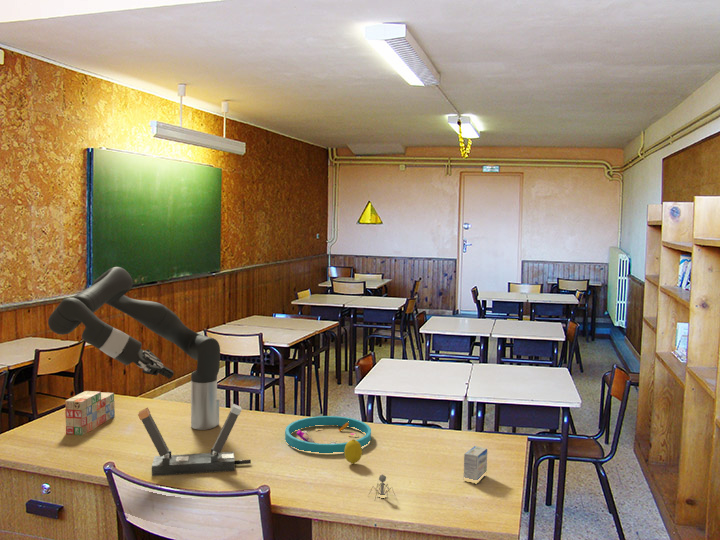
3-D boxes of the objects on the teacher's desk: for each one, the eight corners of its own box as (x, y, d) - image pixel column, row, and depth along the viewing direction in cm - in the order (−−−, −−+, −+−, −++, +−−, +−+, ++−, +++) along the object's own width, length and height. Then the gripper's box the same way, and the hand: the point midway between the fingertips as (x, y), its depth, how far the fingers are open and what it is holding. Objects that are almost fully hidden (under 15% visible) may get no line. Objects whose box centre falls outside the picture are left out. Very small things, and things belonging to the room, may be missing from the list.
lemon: (363, 462, 200) (364, 437, 199) (358, 468, 195) (358, 443, 194) (347, 459, 202) (348, 435, 201) (341, 466, 196) (342, 441, 196)
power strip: (151, 476, 186) (151, 460, 185) (154, 465, 193) (154, 450, 193) (251, 469, 192) (251, 454, 192) (250, 459, 200) (250, 445, 199)
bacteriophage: (363, 499, 174) (364, 476, 173) (379, 489, 180) (379, 466, 180) (385, 506, 170) (385, 482, 169) (400, 496, 177) (400, 472, 176)
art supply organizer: (267, 439, 219) (267, 423, 219) (329, 420, 241) (329, 405, 241) (327, 464, 199) (327, 445, 198) (388, 440, 221) (389, 424, 220)
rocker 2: (209, 457, 191) (233, 407, 191) (209, 452, 195) (233, 403, 195) (217, 460, 191) (241, 410, 192) (217, 455, 196) (241, 406, 196)
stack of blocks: (99, 415, 240) (99, 384, 239) (115, 416, 239) (114, 385, 238) (65, 434, 219) (64, 400, 218) (82, 435, 218) (81, 401, 217)
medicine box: (477, 485, 184) (478, 456, 184) (462, 481, 187) (464, 453, 186) (486, 476, 191) (487, 448, 190) (473, 472, 193) (474, 445, 193)
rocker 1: (163, 464, 188) (137, 415, 185) (164, 458, 192) (139, 410, 189) (171, 459, 188) (146, 411, 185) (172, 454, 192) (148, 406, 190)
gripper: (113, 347, 185) (163, 376, 192) (111, 365, 172) (165, 395, 180) (128, 327, 184) (178, 356, 192) (127, 344, 172) (181, 374, 180)
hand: (171, 375), depth 186 cm, fingers closed
